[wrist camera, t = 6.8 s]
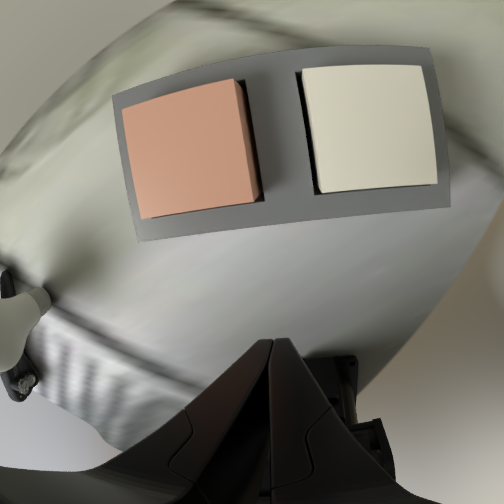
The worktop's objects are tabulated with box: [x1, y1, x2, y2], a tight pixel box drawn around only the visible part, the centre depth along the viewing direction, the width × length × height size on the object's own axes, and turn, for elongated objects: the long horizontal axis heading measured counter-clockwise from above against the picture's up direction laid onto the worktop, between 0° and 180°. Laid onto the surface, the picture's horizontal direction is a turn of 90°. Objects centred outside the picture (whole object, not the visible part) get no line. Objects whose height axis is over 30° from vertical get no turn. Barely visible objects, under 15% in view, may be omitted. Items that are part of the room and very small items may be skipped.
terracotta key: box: [122, 79, 263, 219], centre depth 15 cm, size 6×6×4 cm
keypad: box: [112, 45, 451, 242], centre depth 16 cm, size 9×17×4 cm, turn 99°
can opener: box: [0, 271, 39, 402], centre depth 25 cm, size 18×7×6 cm, turn 166°
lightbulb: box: [0, 287, 51, 372], centre depth 19 cm, size 6×6×11 cm
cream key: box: [301, 65, 438, 193], centre depth 14 cm, size 6×6×4 cm
